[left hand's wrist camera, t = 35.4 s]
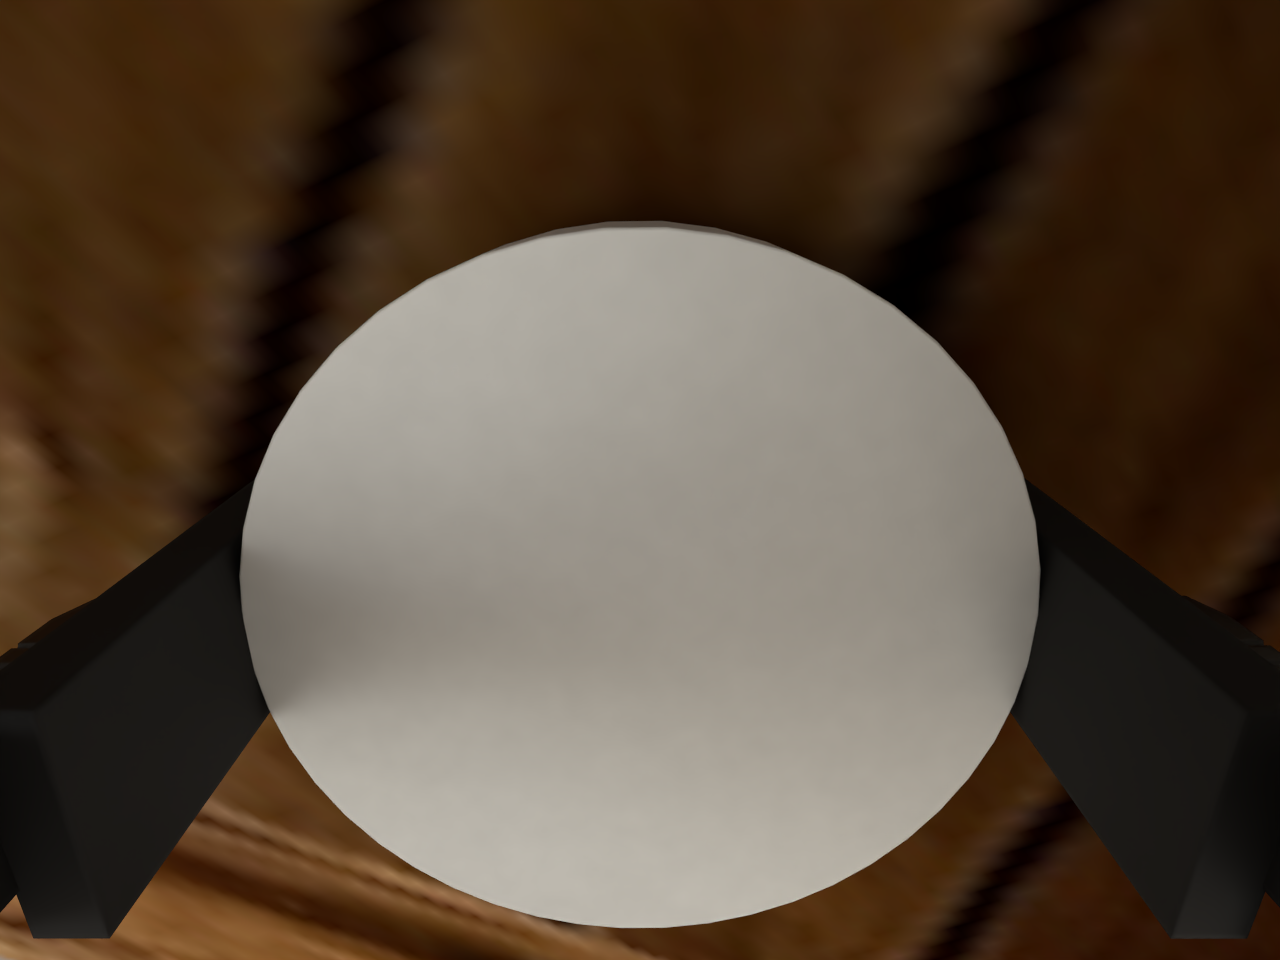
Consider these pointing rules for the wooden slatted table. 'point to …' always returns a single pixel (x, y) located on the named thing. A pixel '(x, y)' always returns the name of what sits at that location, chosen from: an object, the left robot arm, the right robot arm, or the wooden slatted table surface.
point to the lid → (640, 576)
